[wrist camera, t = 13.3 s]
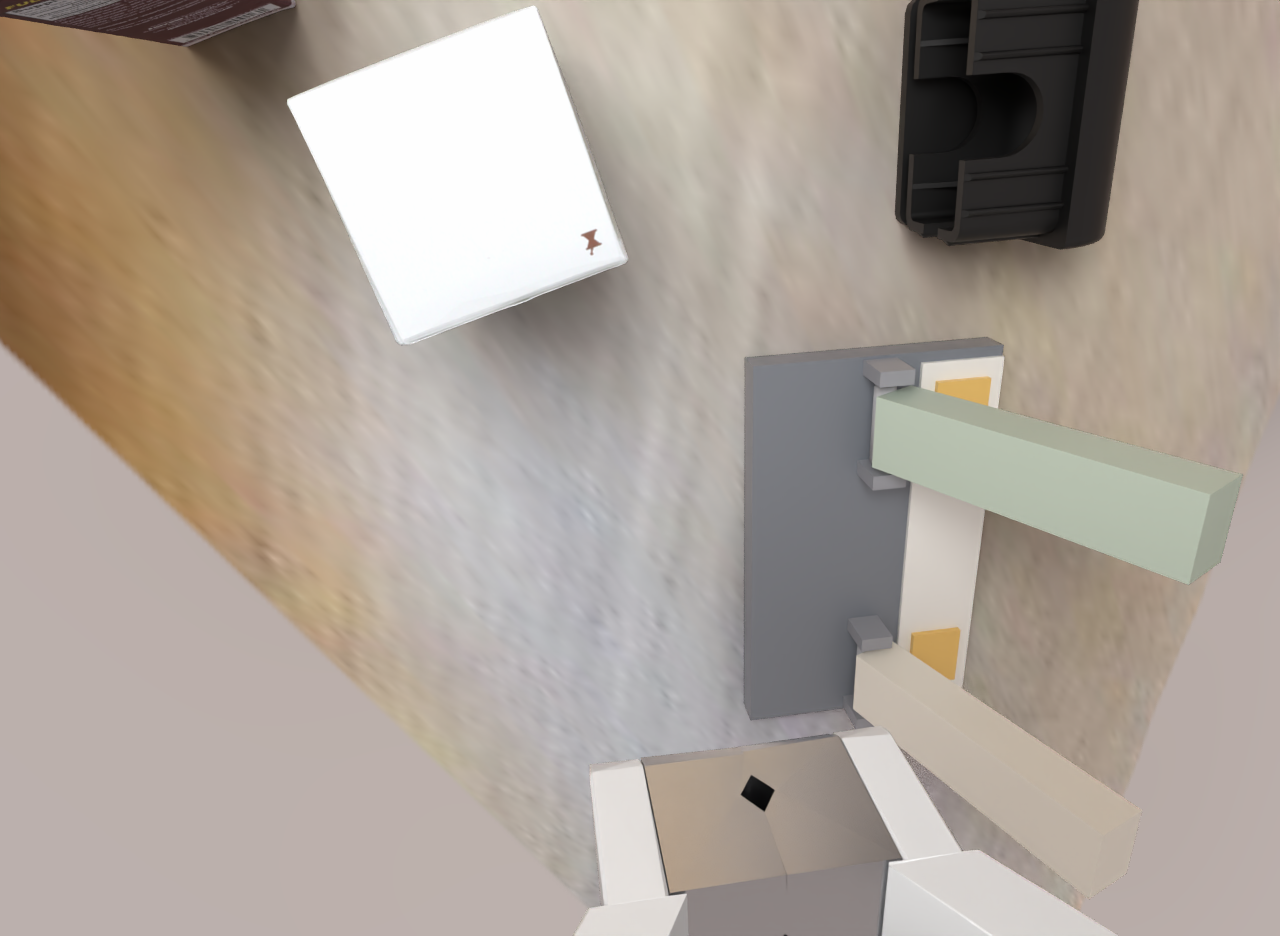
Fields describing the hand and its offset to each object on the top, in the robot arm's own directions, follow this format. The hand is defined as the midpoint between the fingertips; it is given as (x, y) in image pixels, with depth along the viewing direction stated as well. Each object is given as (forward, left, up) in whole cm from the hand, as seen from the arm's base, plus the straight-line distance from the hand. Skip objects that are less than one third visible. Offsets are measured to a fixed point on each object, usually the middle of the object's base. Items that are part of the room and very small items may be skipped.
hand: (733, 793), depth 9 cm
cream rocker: (+10, +24, -29) cm, 39 cm away
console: (+4, +20, -31) cm, 37 cm away
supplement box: (-2, -5, -31) cm, 32 cm away
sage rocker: (-2, +16, -29) cm, 33 cm away
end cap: (-15, +12, -31) cm, 37 cm away
